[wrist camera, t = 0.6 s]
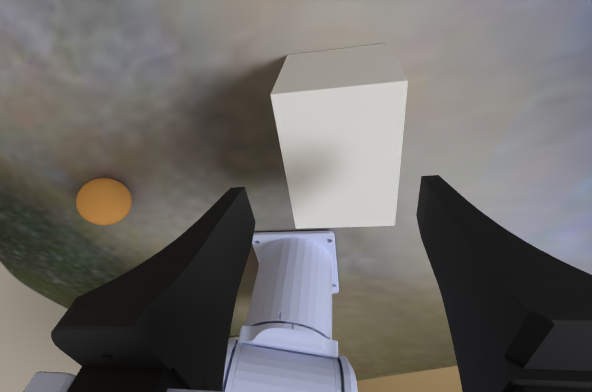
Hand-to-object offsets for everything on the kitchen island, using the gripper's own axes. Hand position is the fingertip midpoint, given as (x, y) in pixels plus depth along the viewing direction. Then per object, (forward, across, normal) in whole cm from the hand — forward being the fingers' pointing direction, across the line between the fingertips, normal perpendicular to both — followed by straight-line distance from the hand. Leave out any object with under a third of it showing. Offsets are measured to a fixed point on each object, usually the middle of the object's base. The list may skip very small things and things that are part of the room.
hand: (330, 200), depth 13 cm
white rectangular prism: (+10, 0, +1) cm, 10 cm away
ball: (+8, +20, +6) cm, 22 cm away
